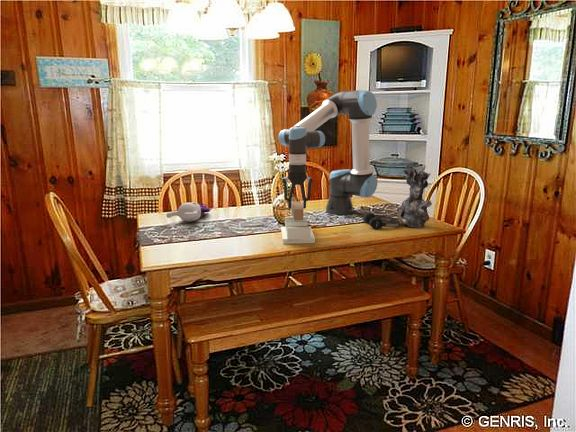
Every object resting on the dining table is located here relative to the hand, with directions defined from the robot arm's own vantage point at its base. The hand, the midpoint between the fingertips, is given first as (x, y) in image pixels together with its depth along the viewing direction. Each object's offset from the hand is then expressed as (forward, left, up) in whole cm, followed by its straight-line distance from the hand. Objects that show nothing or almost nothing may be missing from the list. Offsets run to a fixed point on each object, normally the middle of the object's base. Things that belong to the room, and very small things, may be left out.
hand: (297, 215), depth 198 cm
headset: (-16, +42, -11) cm, 47 cm away
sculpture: (-15, +59, -10) cm, 62 cm away
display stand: (0, 0, -10) cm, 10 cm away
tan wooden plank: (0, 0, 0) cm, 0 cm away
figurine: (-32, -51, -10) cm, 62 cm away
